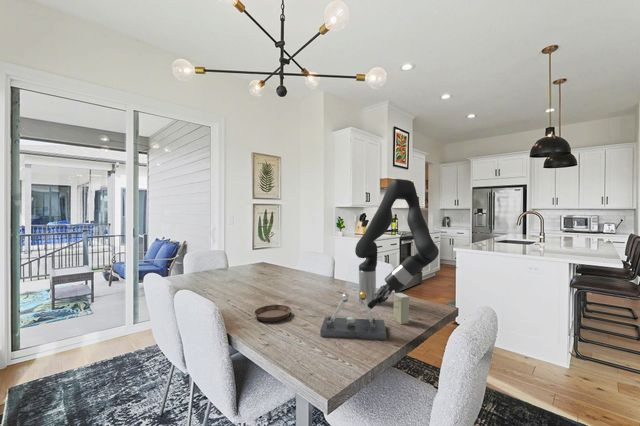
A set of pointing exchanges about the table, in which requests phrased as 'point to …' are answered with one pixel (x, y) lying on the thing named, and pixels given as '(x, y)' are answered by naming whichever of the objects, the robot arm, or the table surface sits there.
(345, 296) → the white lever
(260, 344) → the table surface
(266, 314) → the plant saucer
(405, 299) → the skincare box
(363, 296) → the lever handle
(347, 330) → the switch panel
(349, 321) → the push button
